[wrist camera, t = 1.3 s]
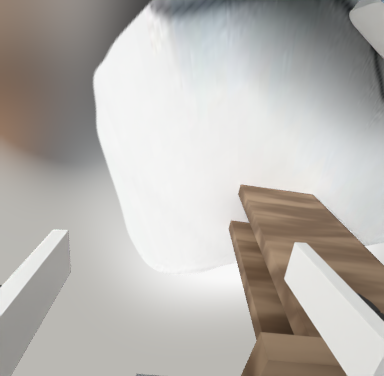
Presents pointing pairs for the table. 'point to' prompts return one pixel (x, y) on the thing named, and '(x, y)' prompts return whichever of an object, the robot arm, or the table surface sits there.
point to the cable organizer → (370, 22)
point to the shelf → (278, 288)
